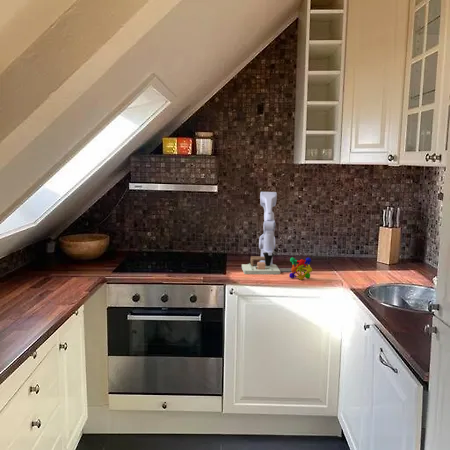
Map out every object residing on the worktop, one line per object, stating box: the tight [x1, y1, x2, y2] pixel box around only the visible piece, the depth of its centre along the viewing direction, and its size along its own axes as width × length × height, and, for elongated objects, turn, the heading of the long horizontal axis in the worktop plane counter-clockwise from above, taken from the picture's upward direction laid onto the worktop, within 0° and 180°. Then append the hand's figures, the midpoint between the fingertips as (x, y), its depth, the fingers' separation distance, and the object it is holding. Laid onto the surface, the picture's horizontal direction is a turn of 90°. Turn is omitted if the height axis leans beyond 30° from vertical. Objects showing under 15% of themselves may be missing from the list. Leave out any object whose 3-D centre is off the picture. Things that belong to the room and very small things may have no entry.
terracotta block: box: [256, 261, 265, 270], centre depth 271 cm, size 4×4×5 cm
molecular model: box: [289, 256, 313, 281], centre depth 256 cm, size 12×7×12 cm, turn 92°
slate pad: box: [278, 267, 292, 273], centre depth 275 cm, size 7×7×1 cm
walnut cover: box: [249, 255, 266, 266], centre depth 278 cm, size 7×9×4 cm
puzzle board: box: [241, 262, 281, 275], centre depth 273 cm, size 16×20×3 cm
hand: (267, 265), depth 274 cm, fingers closed
